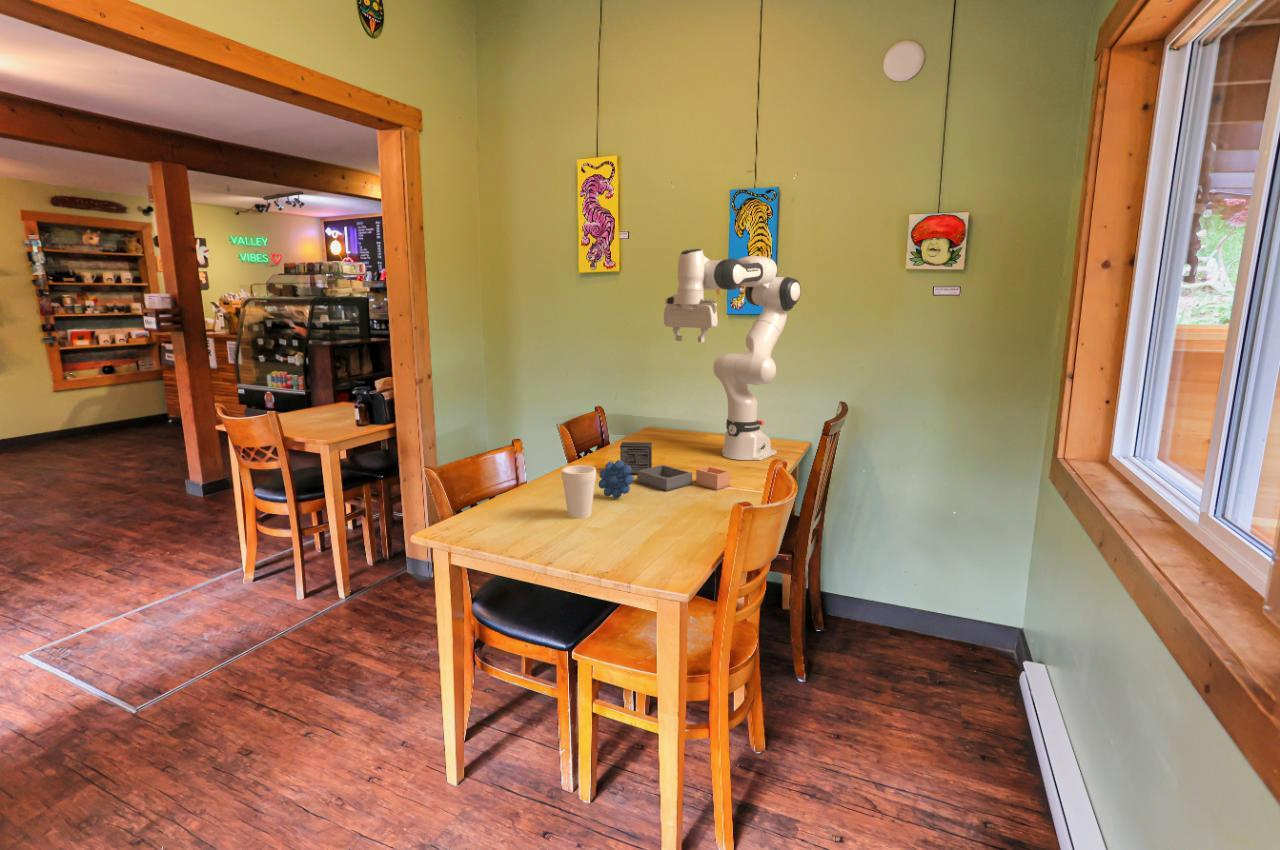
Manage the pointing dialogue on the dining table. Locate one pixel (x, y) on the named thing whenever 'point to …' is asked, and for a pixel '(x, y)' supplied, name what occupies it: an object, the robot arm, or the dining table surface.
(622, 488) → the grapes
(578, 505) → the foam cup
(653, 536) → the dining table surface
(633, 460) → the small box
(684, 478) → the box
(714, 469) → the small crate
